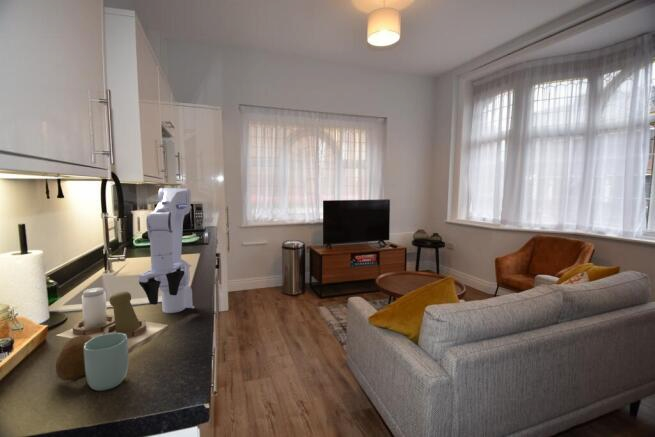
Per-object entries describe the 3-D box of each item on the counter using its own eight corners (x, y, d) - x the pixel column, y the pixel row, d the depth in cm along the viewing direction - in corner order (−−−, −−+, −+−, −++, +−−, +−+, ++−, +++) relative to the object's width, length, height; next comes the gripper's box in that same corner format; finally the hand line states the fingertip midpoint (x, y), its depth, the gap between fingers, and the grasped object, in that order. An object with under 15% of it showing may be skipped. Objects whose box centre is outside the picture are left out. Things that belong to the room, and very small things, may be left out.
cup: (80, 400, 62) (77, 353, 61) (92, 378, 69) (89, 336, 68) (126, 390, 65) (123, 346, 64) (132, 370, 72) (130, 330, 71)
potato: (112, 355, 79) (110, 322, 78) (95, 383, 68) (92, 345, 67) (71, 361, 76) (69, 327, 75) (47, 391, 65) (44, 352, 64)
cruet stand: (103, 319, 99) (103, 310, 99) (168, 329, 93) (168, 320, 93) (56, 340, 86) (55, 330, 85) (128, 353, 79) (128, 342, 79)
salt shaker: (97, 321, 94) (95, 286, 93) (112, 324, 93) (110, 288, 92) (78, 329, 89) (76, 292, 88) (93, 332, 87) (91, 294, 86)
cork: (130, 332, 84) (120, 294, 84) (110, 336, 85) (100, 298, 85) (145, 323, 90) (136, 287, 90) (127, 327, 91) (117, 291, 91)
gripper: (153, 260, 80) (155, 310, 82) (191, 249, 94) (192, 292, 96) (131, 258, 82) (134, 307, 83) (171, 248, 96) (173, 290, 97)
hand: (163, 299), depth 90 cm, fingers open, 7 cm apart
